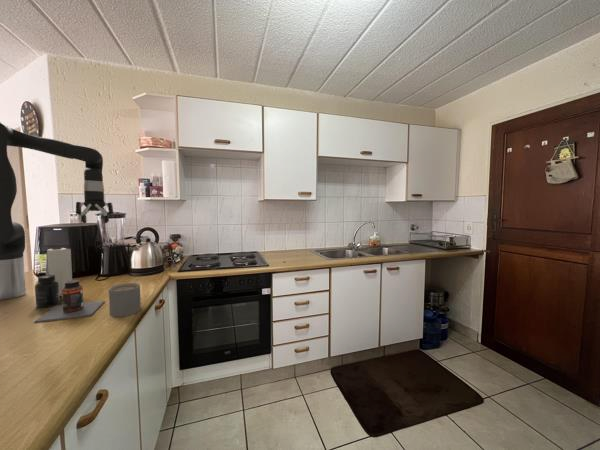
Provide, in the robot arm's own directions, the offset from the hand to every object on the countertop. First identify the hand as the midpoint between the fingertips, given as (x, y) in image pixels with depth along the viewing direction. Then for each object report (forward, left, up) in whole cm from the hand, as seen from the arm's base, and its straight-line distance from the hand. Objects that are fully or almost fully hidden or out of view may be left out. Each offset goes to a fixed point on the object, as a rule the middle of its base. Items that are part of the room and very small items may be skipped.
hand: (95, 223), depth 122 cm
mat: (+2, -33, -32) cm, 46 cm away
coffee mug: (+21, -38, -32) cm, 54 cm away
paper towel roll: (-11, -10, -32) cm, 36 cm away
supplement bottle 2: (+2, -33, -32) cm, 46 cm away
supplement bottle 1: (-10, -22, -32) cm, 40 cm away
